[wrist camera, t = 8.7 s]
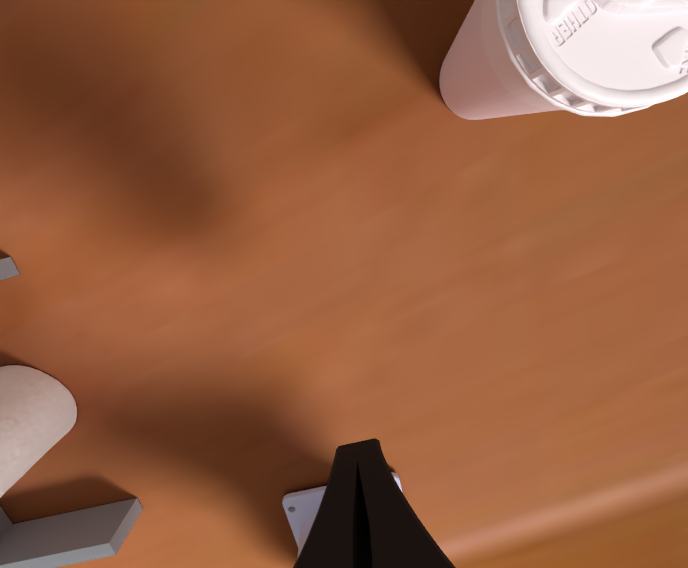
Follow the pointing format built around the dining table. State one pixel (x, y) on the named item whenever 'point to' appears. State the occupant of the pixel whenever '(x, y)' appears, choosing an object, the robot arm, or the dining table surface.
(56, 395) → the white rounded-top container
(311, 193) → the dining table surface
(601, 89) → the smoothie
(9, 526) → the box
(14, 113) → the dining table surface
